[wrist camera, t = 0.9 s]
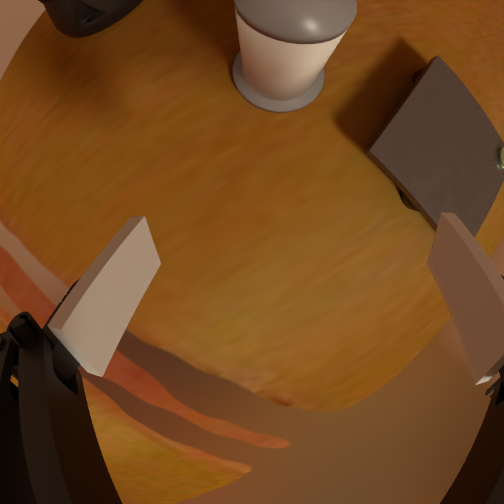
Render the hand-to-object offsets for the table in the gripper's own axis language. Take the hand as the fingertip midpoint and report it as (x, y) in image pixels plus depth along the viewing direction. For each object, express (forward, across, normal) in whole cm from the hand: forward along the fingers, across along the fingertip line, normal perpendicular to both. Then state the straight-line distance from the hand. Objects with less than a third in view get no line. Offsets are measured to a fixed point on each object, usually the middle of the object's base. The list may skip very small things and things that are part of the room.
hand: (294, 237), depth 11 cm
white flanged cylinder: (+20, -1, +7) cm, 21 cm away
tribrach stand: (+19, +17, -1) cm, 26 cm away
